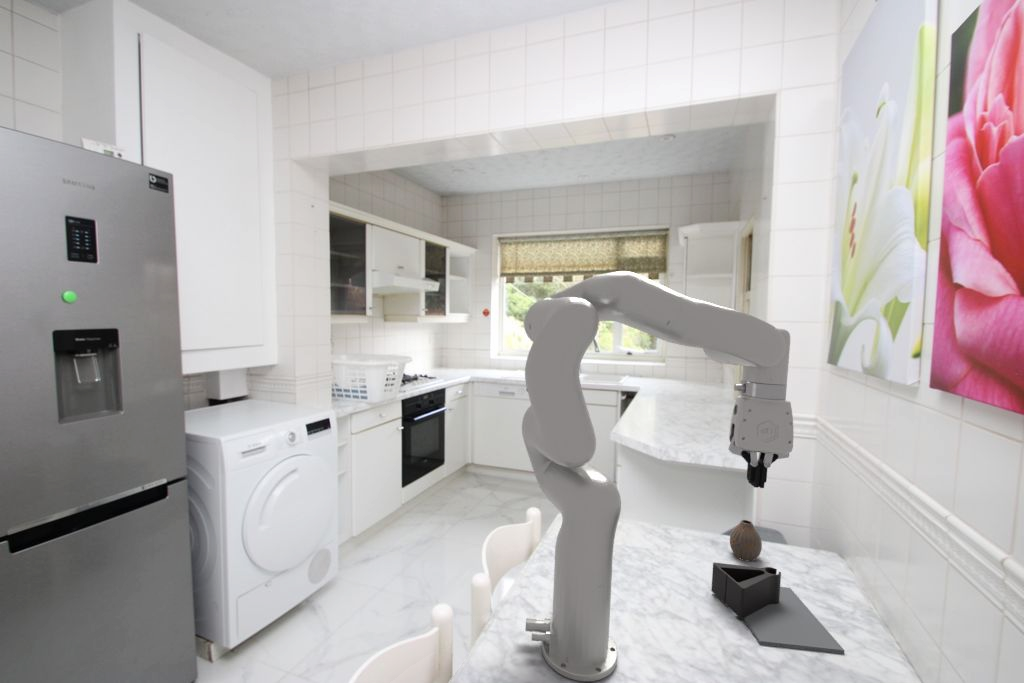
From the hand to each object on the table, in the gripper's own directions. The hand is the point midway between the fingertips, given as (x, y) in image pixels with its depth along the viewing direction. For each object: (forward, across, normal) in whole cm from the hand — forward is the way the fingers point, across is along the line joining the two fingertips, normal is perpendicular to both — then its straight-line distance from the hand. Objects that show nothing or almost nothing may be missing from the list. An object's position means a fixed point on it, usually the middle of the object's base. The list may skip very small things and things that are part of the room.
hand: (755, 485), depth 85 cm
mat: (+25, +6, 0) cm, 26 cm away
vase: (+26, +9, +22) cm, 35 cm away
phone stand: (+22, -4, +1) cm, 22 cm away
